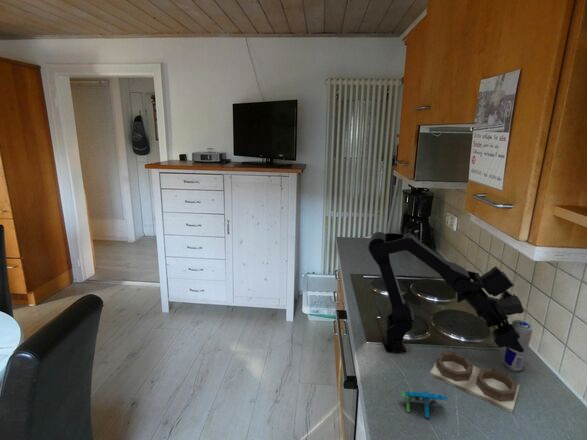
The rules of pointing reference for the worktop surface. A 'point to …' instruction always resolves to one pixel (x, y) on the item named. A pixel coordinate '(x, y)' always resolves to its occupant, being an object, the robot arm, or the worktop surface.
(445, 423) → the worktop surface
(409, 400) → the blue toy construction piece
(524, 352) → the beverage can
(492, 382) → the socket plate
